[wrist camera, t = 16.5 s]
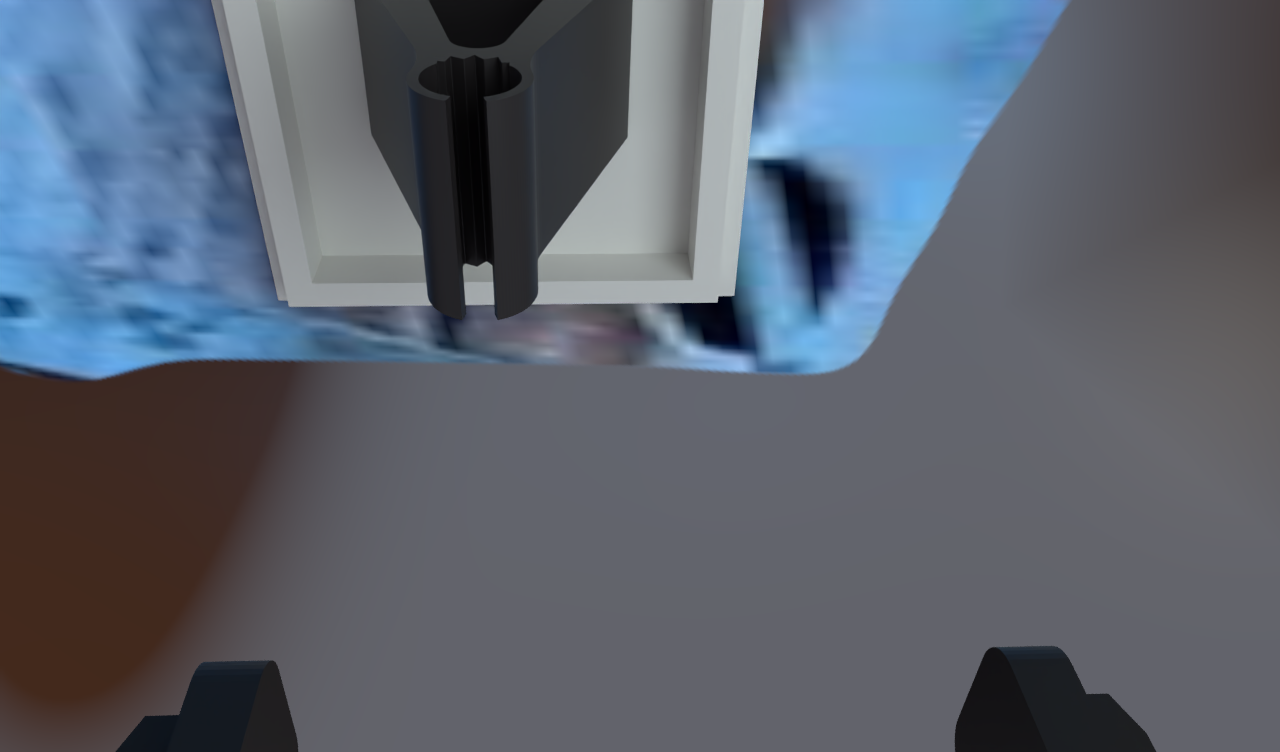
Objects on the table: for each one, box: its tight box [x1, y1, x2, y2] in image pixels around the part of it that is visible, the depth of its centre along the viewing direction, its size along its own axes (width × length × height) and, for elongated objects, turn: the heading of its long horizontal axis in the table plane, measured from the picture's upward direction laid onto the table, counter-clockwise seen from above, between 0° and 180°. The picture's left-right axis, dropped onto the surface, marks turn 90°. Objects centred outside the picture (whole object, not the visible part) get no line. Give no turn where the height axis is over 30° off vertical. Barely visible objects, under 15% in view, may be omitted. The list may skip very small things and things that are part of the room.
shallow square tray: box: [211, 0, 764, 307], centre depth 34 cm, size 18×20×3 cm
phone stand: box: [354, 0, 633, 320], centre depth 29 cm, size 9×6×12 cm, turn 87°
